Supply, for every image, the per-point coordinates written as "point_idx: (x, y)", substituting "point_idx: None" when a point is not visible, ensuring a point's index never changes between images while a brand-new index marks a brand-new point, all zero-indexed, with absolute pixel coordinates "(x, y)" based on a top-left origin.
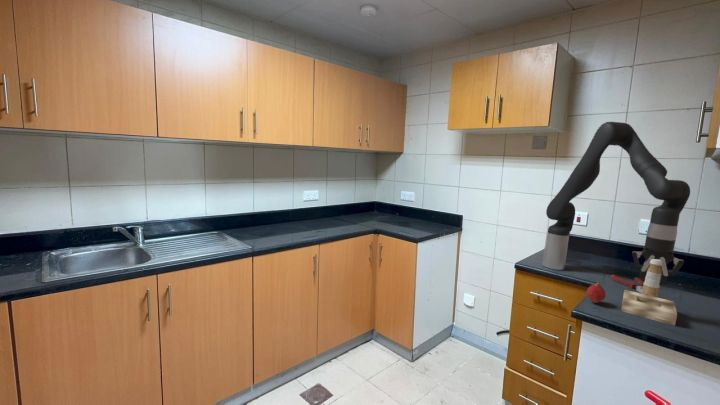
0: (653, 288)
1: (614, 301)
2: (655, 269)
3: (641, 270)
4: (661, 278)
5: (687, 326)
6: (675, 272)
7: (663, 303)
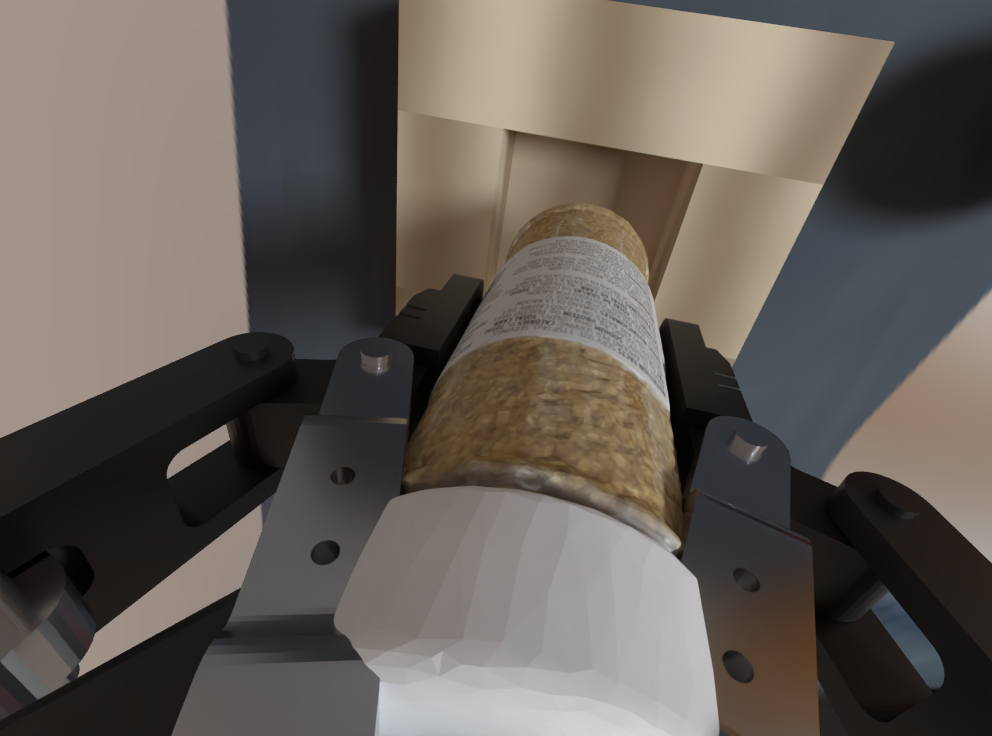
0: (563, 230)
1: (783, 295)
2: (549, 402)
3: (772, 434)
4: (454, 332)
5: (360, 69)
6: (189, 371)
7: (469, 260)
